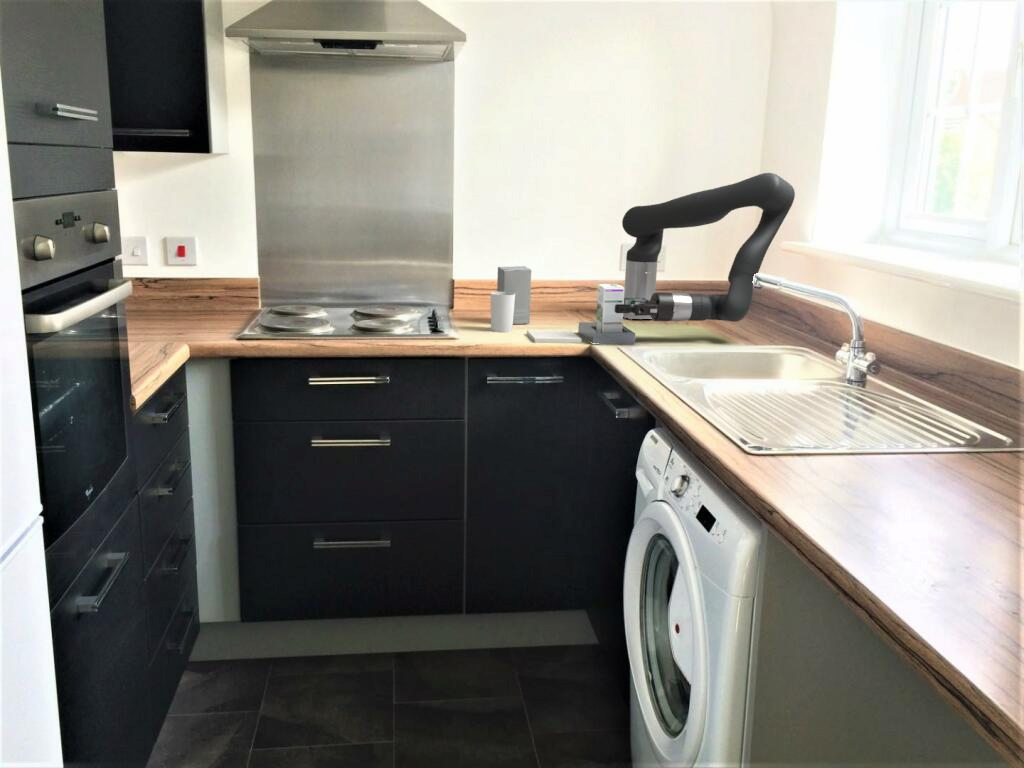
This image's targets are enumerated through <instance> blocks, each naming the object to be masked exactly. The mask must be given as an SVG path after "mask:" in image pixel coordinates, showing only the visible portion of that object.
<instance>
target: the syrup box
mask: <svg viewBox="0 0 1024 768" xmlns="http://www.w3.org/2000/svg"><path fill="white" fill-rule="evenodd" d="M624 287H625V286H622V285H619V284H616V283H602V284H599V283H598V284H597V297H596V317H595V318H596V319H595V322H596V331H597V332H622V328H623V326H624V325H623V324H624V318H623V313H615V305H616V304H624Z"/></svg>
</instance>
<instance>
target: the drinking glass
mask: <svg viewBox="0 0 1024 768" xmlns="http://www.w3.org/2000/svg"><path fill="white" fill-rule="evenodd" d="M514 303H515V293H511V292H497V291H491V292H490V331H491V332H494V333H511V332H513V325H514V324H513V315H514Z"/></svg>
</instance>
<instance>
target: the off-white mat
mask: <svg viewBox="0 0 1024 768" xmlns="http://www.w3.org/2000/svg"><path fill="white" fill-rule="evenodd" d="M526 335H527V336H528V338H530V339H531V340H532V341H533V342H534V343H536V344H537V343H540V344H541V343H542V344H543V343H546V344H548V343H549V344H553V343H554V344H557V343H558V344H560V343H561V344H562V343H563V344H565V343H567V344H581V343H582V338H581V337H580V336H579V335H578V334H576V333H575V332H573V331H572V330H550V329H548V330H545V329H544V330H543V329H542V330H541V329H537V330H536V329H526Z"/></svg>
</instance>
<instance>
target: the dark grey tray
mask: <svg viewBox="0 0 1024 768" xmlns="http://www.w3.org/2000/svg"><path fill="white" fill-rule="evenodd" d="M577 333H578V335H580V336H581V337H583V338H584V339H585V338H586V339H587V341H588V340H589V341H590V342H592V343H599V344H634V343H636V332H635V331H632V330H631V329H629V328H627V327H626V326H624V325H623V328H622V332H597V331H596V321H594V322H593V321H592V322H591V321H582V322H581V321H579V322H578V332H577ZM586 339H585V340H586ZM589 341H588V342H589ZM590 342H589V343H590ZM592 343H591V344H592Z"/></svg>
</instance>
